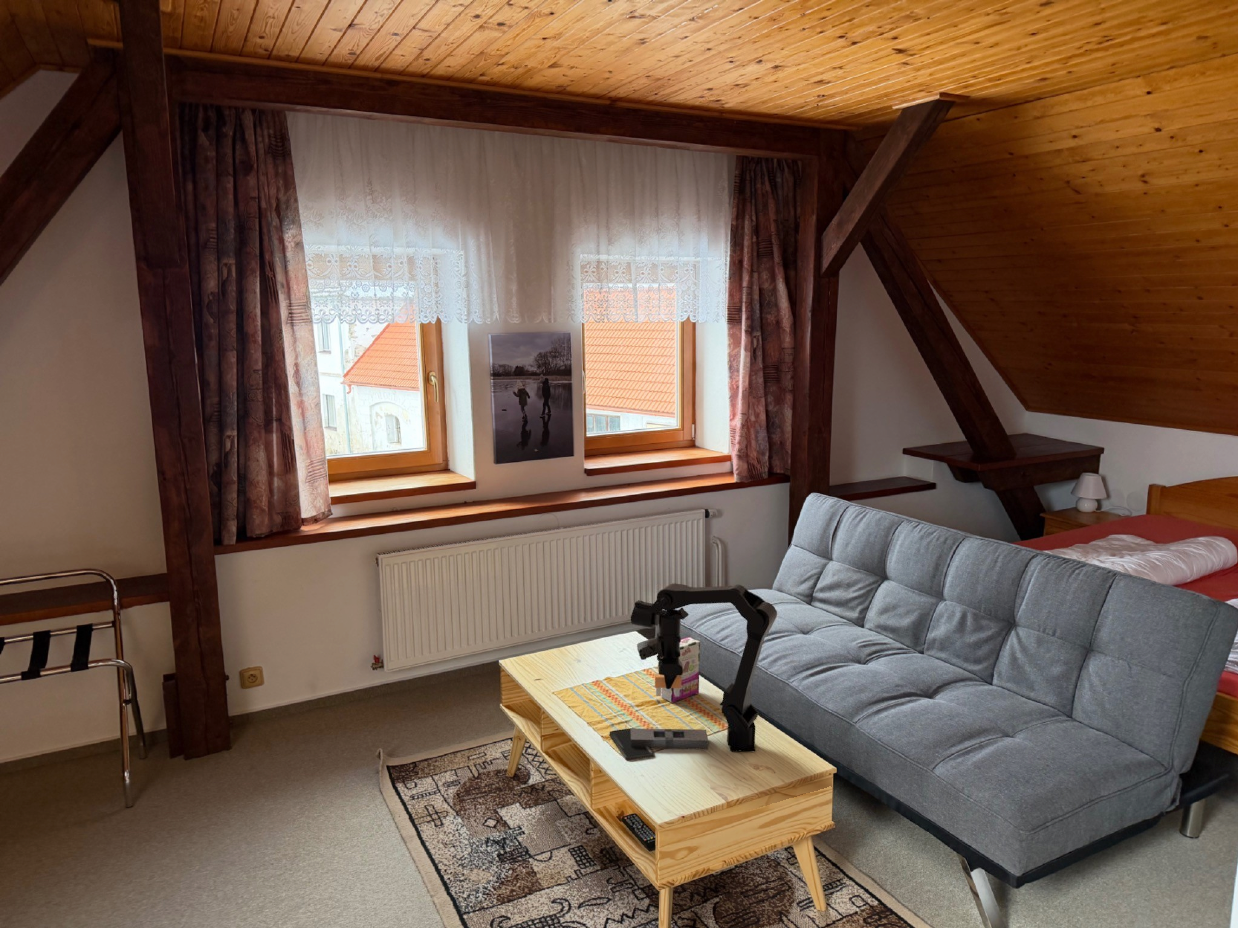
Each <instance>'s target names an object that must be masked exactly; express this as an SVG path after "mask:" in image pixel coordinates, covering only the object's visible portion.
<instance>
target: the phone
mask: <svg viewBox="0 0 1238 928" xmlns="http://www.w3.org/2000/svg"><path fill="white" fill-rule="evenodd" d="M631 729H637V728H635V727H632V728H631V727H630V728H624V729H617V730H616V729H615V730H610V731H609V737H610V739H611V741H612V742H613V744H614V745H615V746H616V748H617V749H618V751H619V753H620V754H621V756H622V757H623V759H624V760H625V761H635V760H642V759H643V760H644V759H651V758H653V757H654V756H655V752H654V749H651V748H650V746H649V747H637V746H631V739H630V730H631Z"/></svg>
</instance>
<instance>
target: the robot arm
mask: <svg viewBox="0 0 1238 928" xmlns="http://www.w3.org/2000/svg"><path fill="white" fill-rule="evenodd" d="M707 604H711V605H712V604H731V605H732V606H733V607H735V609H736V611H737V612H738V613H739V615H740V616H741V617H742V618H743V619H744V620H745V621H746V628H745V629H746V636H747V638H746V642H745V645H744V648H743V652H742V655H741V658H740V662H739V666H738V669H737V673H736V677H735V680H734V683H732V682H731V683H730V684H729V685H728V686H727V687H726V688H725V690H724V691H723V695H722V701H721V702H720V703H719V706H721V709H720V710H721V713H722V715H723V717H724V718H725V721H726V724H727V729H726V730H727V731H726V733H727V735H726V742H727V746H728V747H729V750H730V752H738V753H739V752H747V753H748V752H749V753H750V752H751V753H755V752H756V751H757V749H756V745H755V742H756V723H755V721H756V720H757V718H758V716H759V714H760V713H759V711H758V710H757V709H756V708H755V707H754V705H753V704H752V689H751V685H752V682H753V679H754V675H755V671H756V668H757V665H758V662H759V658H760V655H761V652H762V648H763V646H764V641H765V639H766V637H767V635H768V633H769V632H770V630H771V628H772V627H773V625H774V623H775V621H776V619H777V616H778V610H777V609H776V607H775V606H774V605H773V604H772V603H770V602H767V601H766V600H764V599H763V598H762V597H761V596H759V595H757V594H755V593H753V592H752V591H750V590H748V589H747V588H745V586H744V585H741V584H733V585H721V586H720V585H718V586H697V587H694V586H688V585H686V584H682V583H676V582H674V583H670V584H667V585H666V586H665V587H663V588H661V589H660V590H659V591H658V592H657V594H656V600H655V602H654V603H651V602H647V601H643V600H639V599H638V600H636V601H635V602H634V607H633V608H632V611H631V615H630V623H631V625H632V626H635V627H642V628H646V629H650V630H651V629H652V630H653V629H655V627H658V632H657V633H656V637H654V638H649V639H647V640H643V641H641V642H638V643H637V644H636V649H637V652H638V655H639V658H640V660H641V661H643V660H646V659H647V658H652V657H654V656H656V661H658V662H657V663H658V664H657V668H658V669H657V672H658V674H660V675H664V679H665V684H666V689H670V688H671V687H672V685H673V683H674V681H675V679H676V677H677V675H682V674H683V666H682V662H681V661H680V660H679V657H680V642H681V639H682V638H681V622H682V621H681V620H685V619H686V618H687V617H688V616H689V613H688V612H687V611H686V609H684V607H686V606H689V605H707Z"/></svg>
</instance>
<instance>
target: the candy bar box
mask: <svg viewBox="0 0 1238 928" xmlns="http://www.w3.org/2000/svg"><path fill="white" fill-rule="evenodd" d="M700 647H701V641H700V640H698V639H695V638H693V637H691V636H688V637H685V638H681V642H680V657H679V660H680V661H681V662H682V666H683V674H682V675H681V688H680V692H679V696H675V694H674V690H675V688H670V689H666V688H661V698H662V699H663V700H664V701H667V702H669V703H671V704H674V703H676V702H680V701H682V700H684V699H687V698H690V697H692V696H695V695H698V694H699V692H700V653H701V651H700V649H701V648H700Z"/></svg>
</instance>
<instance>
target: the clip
mask: <svg viewBox="0 0 1238 928" xmlns="http://www.w3.org/2000/svg"><path fill="white" fill-rule="evenodd" d="M654 688H655V696H656V697H662V688H666V684H665V679H664V675H660V674H659V673H656V672H655V673H654ZM671 688H675V690H674V694H675V696H679V692H680V688H681V675H677V677H676V679H675V681H674V683H673V685H672V687H671Z"/></svg>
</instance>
